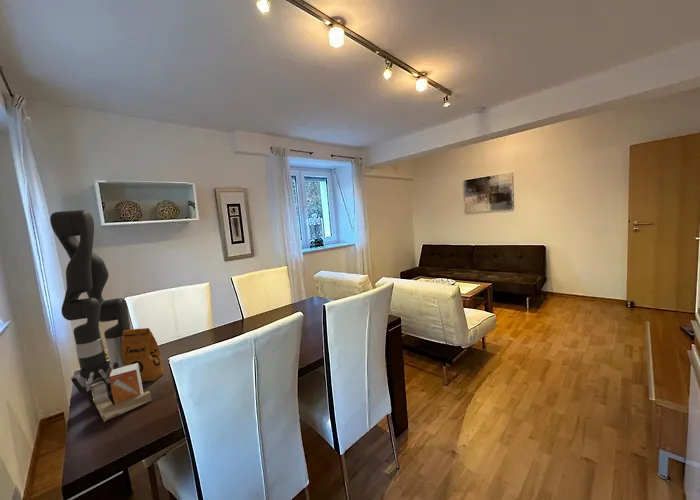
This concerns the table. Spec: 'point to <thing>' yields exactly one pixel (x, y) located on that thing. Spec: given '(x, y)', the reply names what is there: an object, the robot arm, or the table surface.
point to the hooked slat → (110, 410)
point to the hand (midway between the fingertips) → (100, 395)
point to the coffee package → (142, 353)
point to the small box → (125, 383)
